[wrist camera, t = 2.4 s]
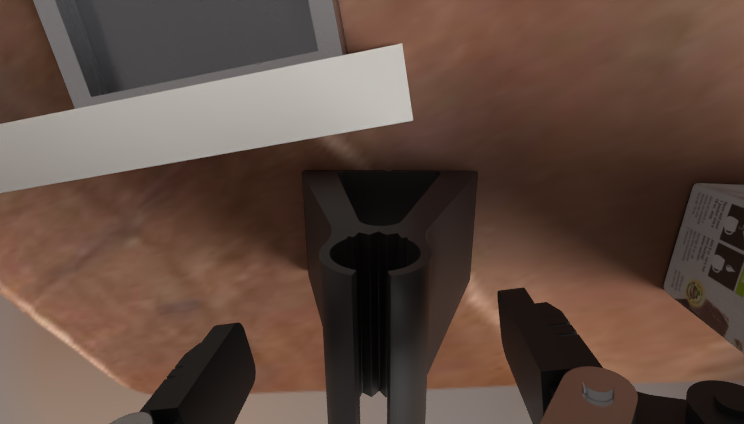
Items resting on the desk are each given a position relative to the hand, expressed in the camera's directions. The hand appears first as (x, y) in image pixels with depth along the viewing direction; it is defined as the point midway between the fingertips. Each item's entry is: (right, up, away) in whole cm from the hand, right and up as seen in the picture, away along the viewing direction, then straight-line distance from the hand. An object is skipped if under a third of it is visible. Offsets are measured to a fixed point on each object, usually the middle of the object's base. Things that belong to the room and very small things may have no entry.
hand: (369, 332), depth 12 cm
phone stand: (+1, +3, +9) cm, 10 cm away
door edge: (-6, +9, +8) cm, 13 cm away
